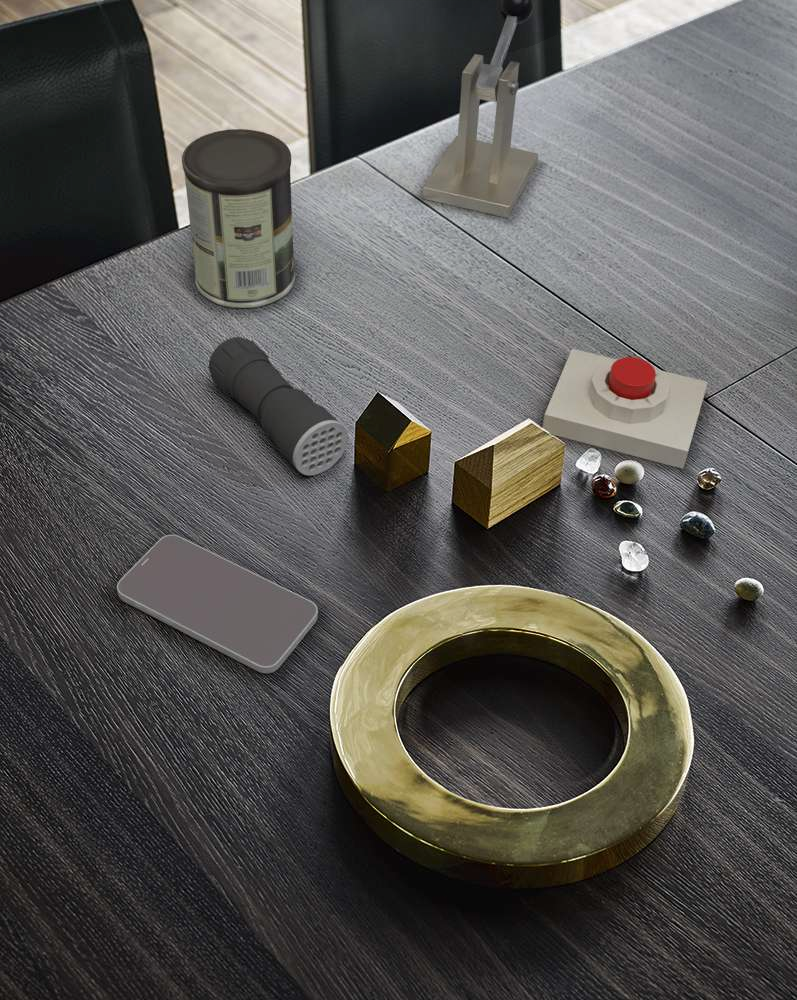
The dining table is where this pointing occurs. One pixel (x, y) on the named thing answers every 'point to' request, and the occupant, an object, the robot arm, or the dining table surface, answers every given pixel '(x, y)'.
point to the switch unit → (483, 153)
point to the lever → (502, 47)
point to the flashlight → (279, 406)
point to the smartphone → (218, 603)
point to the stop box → (625, 411)
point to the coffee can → (240, 217)
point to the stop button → (631, 378)
